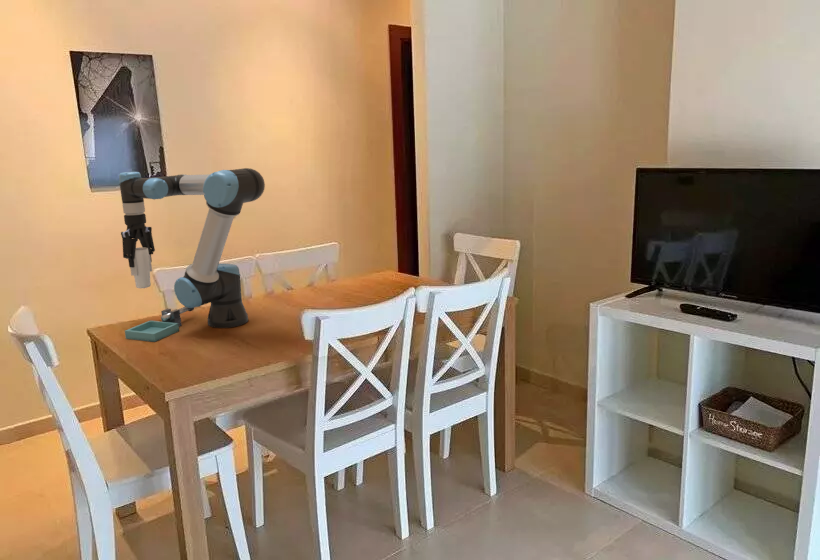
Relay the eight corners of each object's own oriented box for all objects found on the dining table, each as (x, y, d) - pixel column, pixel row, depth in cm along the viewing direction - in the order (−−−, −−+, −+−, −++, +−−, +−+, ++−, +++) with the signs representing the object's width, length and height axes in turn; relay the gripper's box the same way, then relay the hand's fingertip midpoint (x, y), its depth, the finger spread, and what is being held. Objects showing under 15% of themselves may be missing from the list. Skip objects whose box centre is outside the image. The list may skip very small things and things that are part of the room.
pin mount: (181, 325, 246) (179, 309, 244) (175, 328, 242) (173, 312, 241) (168, 324, 248) (167, 308, 246) (162, 326, 244) (160, 310, 243)
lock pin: (194, 310, 255) (193, 303, 254) (167, 322, 240) (166, 314, 239) (187, 310, 256) (187, 302, 255) (160, 321, 241) (159, 313, 240)
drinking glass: (146, 289, 243) (141, 250, 240) (130, 289, 245) (125, 250, 241) (156, 285, 250) (151, 247, 246) (140, 284, 251) (136, 247, 248)
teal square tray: (179, 331, 239) (178, 323, 239) (154, 342, 227) (153, 334, 227) (151, 327, 244) (150, 320, 243) (125, 338, 232) (124, 330, 231)
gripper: (145, 210, 251) (152, 267, 256) (106, 217, 233) (114, 278, 238) (160, 210, 248) (167, 268, 254) (122, 217, 230) (130, 279, 236)
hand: (141, 273), depth 246 cm, fingers closed on drinking glass, 7 cm apart
